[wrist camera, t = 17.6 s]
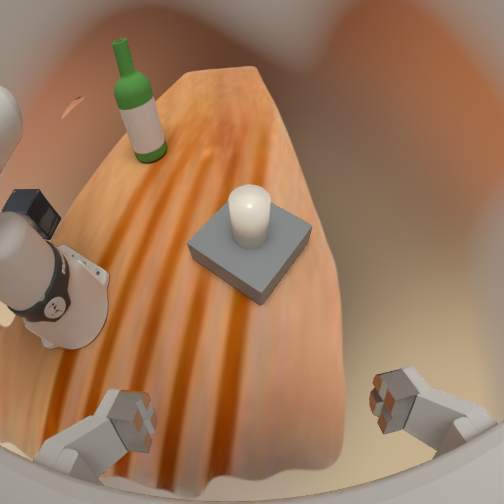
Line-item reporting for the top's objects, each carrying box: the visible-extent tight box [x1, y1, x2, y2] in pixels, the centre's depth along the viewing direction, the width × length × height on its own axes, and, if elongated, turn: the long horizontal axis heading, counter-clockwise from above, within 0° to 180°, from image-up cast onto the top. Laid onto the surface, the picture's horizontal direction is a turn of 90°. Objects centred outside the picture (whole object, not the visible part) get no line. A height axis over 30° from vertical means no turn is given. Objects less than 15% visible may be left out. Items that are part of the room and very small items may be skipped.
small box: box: [2, 189, 61, 240], centre depth 49 cm, size 11×6×10 cm, turn 82°
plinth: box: [187, 202, 313, 305], centre depth 47 cm, size 14×14×5 cm
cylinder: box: [228, 185, 271, 249], centre depth 41 cm, size 6×6×8 cm
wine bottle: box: [112, 38, 167, 163], centre depth 50 cm, size 8×8×30 cm
